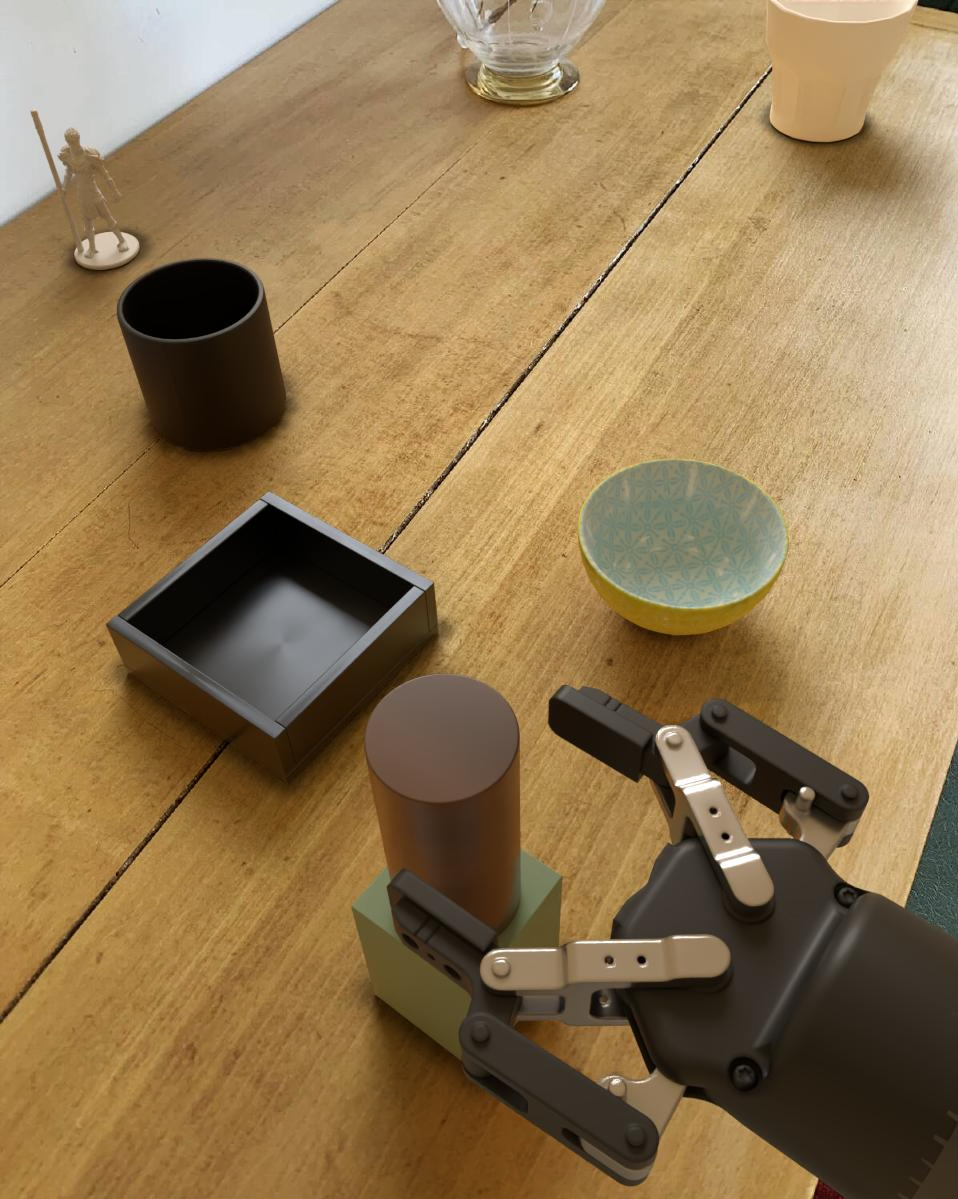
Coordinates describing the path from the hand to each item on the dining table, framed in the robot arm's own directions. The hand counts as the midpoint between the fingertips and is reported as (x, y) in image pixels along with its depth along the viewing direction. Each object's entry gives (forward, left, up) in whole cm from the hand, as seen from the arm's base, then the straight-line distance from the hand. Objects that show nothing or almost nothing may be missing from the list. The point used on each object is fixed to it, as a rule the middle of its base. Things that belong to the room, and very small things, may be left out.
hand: (478, 792), depth 36 cm
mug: (+22, +41, -18) cm, 50 cm away
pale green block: (0, +1, -18) cm, 18 cm away
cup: (+83, +24, -18) cm, 88 cm away
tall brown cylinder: (0, +1, -9) cm, 9 cm away
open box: (+9, +21, -18) cm, 29 cm away
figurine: (+31, +62, -18) cm, 72 cm away
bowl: (+25, +5, -18) cm, 31 cm away
